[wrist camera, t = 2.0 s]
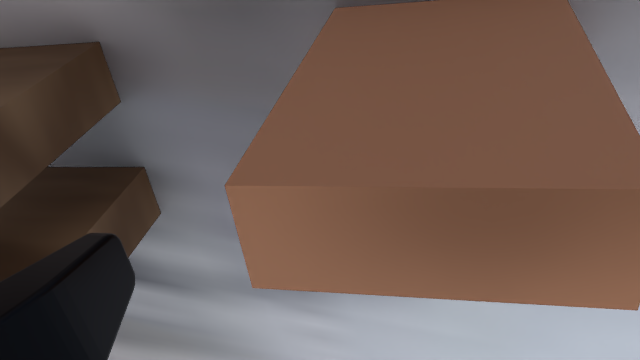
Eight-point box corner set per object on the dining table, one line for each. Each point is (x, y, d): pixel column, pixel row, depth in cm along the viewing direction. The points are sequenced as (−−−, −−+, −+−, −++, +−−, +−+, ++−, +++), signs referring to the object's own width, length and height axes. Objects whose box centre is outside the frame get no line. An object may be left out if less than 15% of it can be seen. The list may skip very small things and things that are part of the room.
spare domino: (554, 69, 14) (637, 309, 7) (343, 78, 16) (252, 287, 9) (562, -9, 13) (669, 189, 6) (335, 8, 15) (225, 185, 8)
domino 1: (160, 213, 20) (8, 420, 13) (32, 210, 22) (-165, 397, 15) (144, 167, 19) (-31, 368, 12) (10, 167, 20) (-213, 347, 14)
